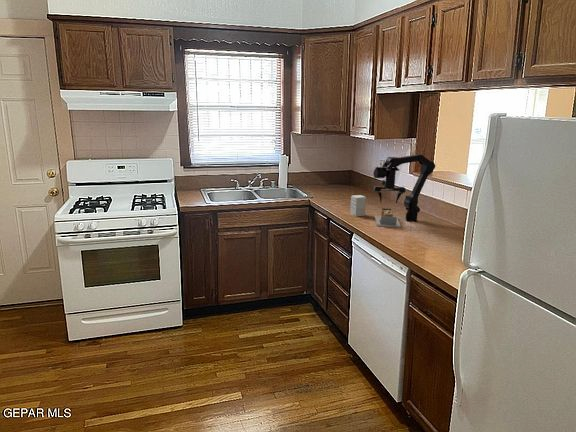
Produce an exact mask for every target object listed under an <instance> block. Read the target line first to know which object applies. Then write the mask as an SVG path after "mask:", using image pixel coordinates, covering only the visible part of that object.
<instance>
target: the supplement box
mask: <svg viewBox="0 0 576 432" xmlns="http://www.w3.org/2000/svg"><path fill="white" fill-rule="evenodd" d="M366 204H367V196H365V195H361V194H358V195H357V194H356V195H352V194H351V197H350V208H349V210H350V212H349V215H352V216H354V217H365V216H366Z"/></svg>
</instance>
